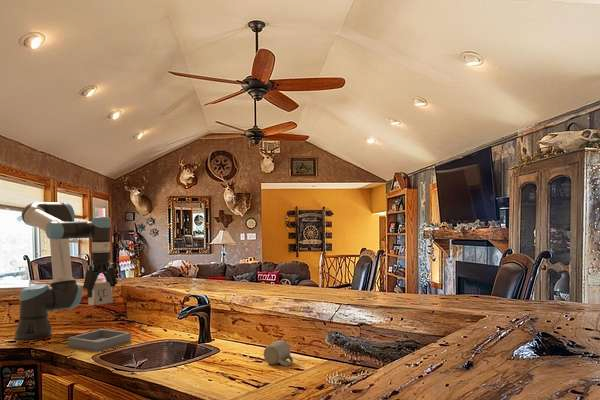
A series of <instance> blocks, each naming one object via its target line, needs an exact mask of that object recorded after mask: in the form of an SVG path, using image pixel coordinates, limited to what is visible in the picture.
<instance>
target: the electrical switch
mask: <svg viewBox="0 0 600 400" xmlns="http://www.w3.org/2000/svg"><path fill="white" fill-rule="evenodd" d="M92 290H94V306H100V305H101V306H102V305H105V304H112V303H113V302H114V297H113V294H112V291H111V286H110V282H107V281H105V282H97V283H95V285H94V287H93V289H92Z"/></svg>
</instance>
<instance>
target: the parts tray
mask: <svg viewBox="0 0 600 400" xmlns="http://www.w3.org/2000/svg"><path fill="white" fill-rule="evenodd" d="M129 343H132V332H128V331H121V330H113V329H106V328H105V329H104V328H100V329H96V330H93V331H89V332H88V331H87V332H85V333H81V334H77V335H73V336H70V337H67V348H69V347H70V348H71V349H77V350H82V349H83V350H82V351H89V352H93V353H94V352H95V353H100V352H102V351H103V352H104V351H106V350H109V349H112V348H116V347H118V346H121V345H124V344H129Z"/></svg>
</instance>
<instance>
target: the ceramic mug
mask: <svg viewBox="0 0 600 400" xmlns="http://www.w3.org/2000/svg"><path fill="white" fill-rule="evenodd" d="M263 357H264V360H265V361H266V363H267V364H268V365H277V364H280V365H282V366H285V367H289V366H288V365H290V366H291V364H293V363H294V358H293V357H292V356H291V348H290V346H289V343H287V341H285V340H282V339H279V340H276V341H275V342H273V343H271V344H269V345H267V346H266V347H265V348H264V350H263ZM286 360H289V361H286Z"/></svg>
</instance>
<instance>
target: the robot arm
mask: <svg viewBox="0 0 600 400" xmlns="http://www.w3.org/2000/svg"><path fill="white" fill-rule="evenodd" d="M21 219H22V221H23V222H24V223H25V224H26V225H28V226H31V227H36V228H38V229H40V230H42V231H44V232H45V235H46V238H47V239H49V247H50V258H51V270H52V280H51V282H50V283H49V285H48V284H47V283H43V284H42V283H40V284H34V285H30V286H26V287H24V288H22V289H21V290H20V293H19V300H18V301H19V321H18V324H17V327H16V329H15V331H14V339H15V340H19V341H20V340H21V341H24V340H26V341H28V340H29V341H30V340H36V339H38V340H39V339H43V338H47V337H50V336H51V335H52V334H53V333H52V331H53V329H52V327H51V324H50V321H49V318H48V317H49V316H48V315H49V312H53V311H54V312H55V311H61V310H69V309H73V308H76V307H77V306H79V305H80V302H81V299H82V297H83V296H82V295H83V290H86V291H87V293H86V295H87V298H88V299H87V300H88V303H87V305H88V306H95V304H94V290H92V289H93V287H94V285H95V284H96V282H97V280H98V277H99V275H100V274H103V277H104V279H105V282H110V286H111V291H112V295H113V294H114V288H115V287H116V285H117V284H118V279H117V274H116V263H115V262H110V260H111V252H110V251H111V227H112V225H111V218H110V217H109V216H93V217H92V218H91V221H90V220H89V221H87V220H86V221H75V219H76V214H75V210H74V208H73V206H72V205H71V204H70V203H68V202H61V201H57V202H52V201H51V202H49V201H48V202H47V201H35V202H32V203H29V204H27V205H26V206H25V207H24V208H23V209H22V211H21ZM70 239H91V251H92V252H91V261H92V264H90V265H86V266H85V267H86V269H85V270H86V271H85V272H86V273H85V275H84V276H85V277H84V280H83V285H81V284H79V283H77V280H76V278H74V277H73V270H72V259H71V249H70V248H71V247H70ZM81 286H82V287H81ZM82 288H83V289H82Z"/></svg>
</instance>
